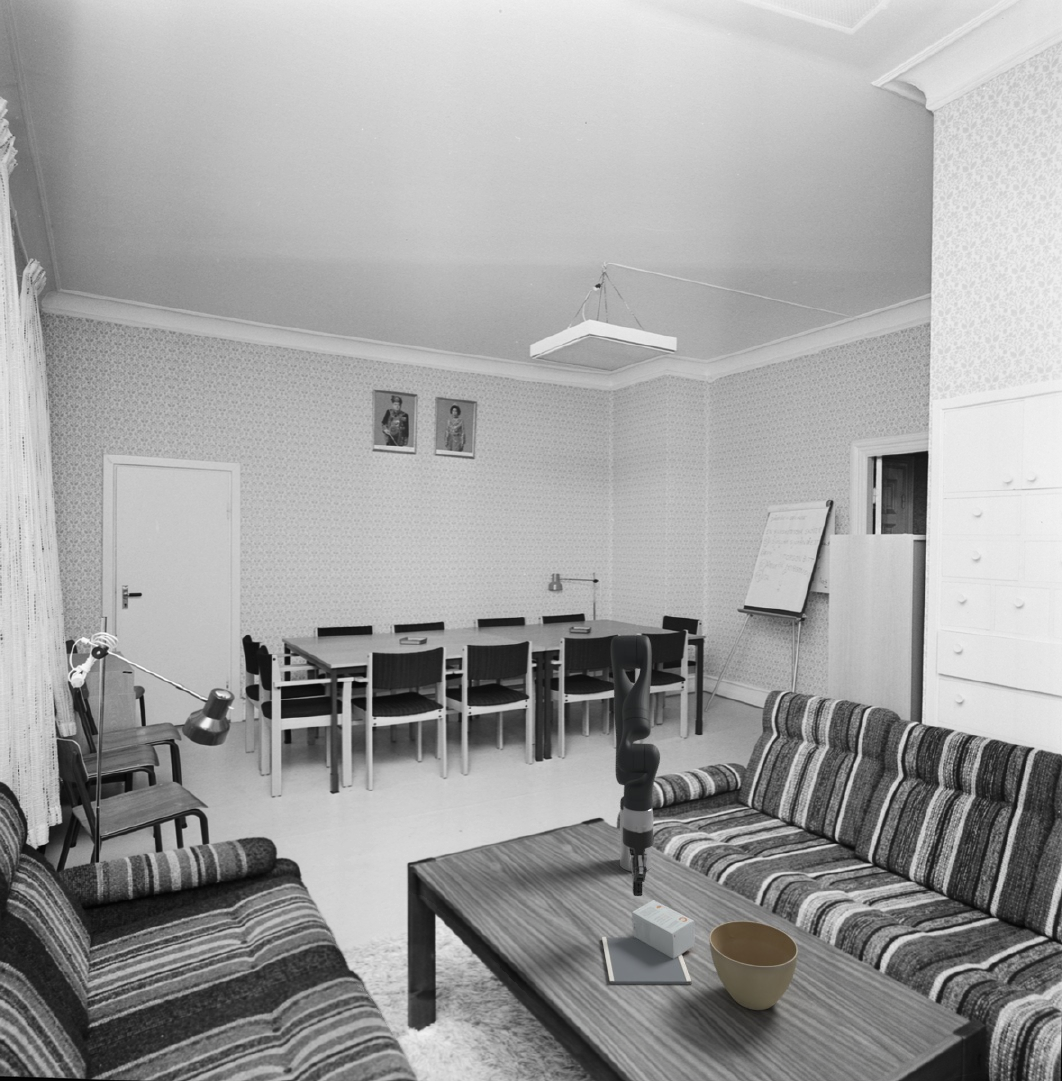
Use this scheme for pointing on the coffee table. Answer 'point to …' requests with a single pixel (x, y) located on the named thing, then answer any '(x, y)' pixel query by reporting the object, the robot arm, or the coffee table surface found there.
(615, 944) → the mat
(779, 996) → the beige round bowl
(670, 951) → the small box
